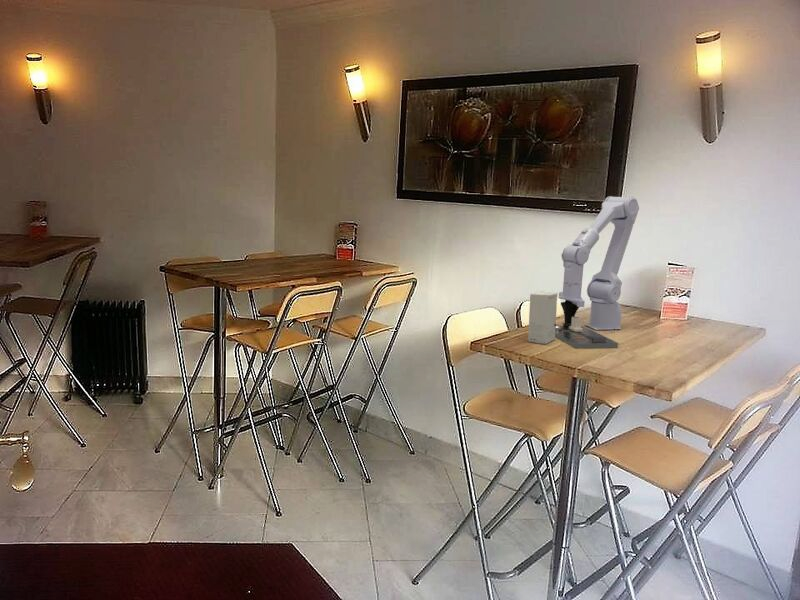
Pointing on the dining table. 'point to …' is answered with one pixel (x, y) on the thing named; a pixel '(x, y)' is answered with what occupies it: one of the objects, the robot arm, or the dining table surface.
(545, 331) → the skincare box
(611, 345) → the console
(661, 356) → the dining table surface
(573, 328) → the block
